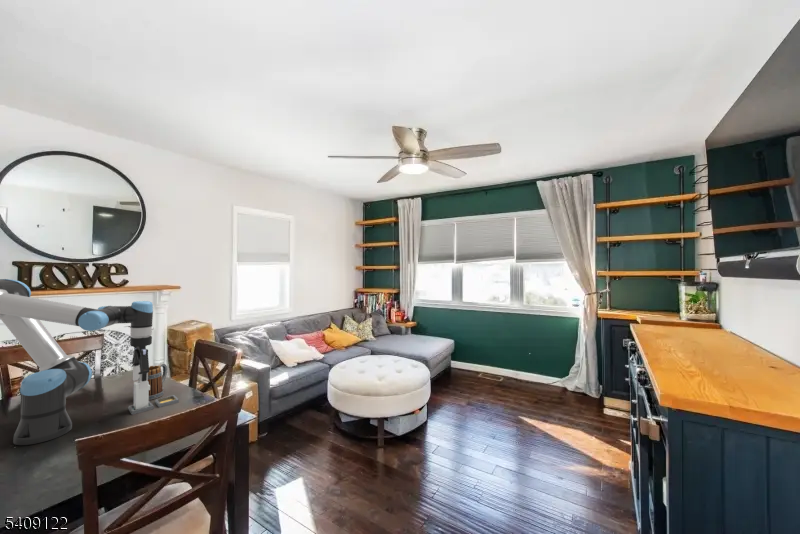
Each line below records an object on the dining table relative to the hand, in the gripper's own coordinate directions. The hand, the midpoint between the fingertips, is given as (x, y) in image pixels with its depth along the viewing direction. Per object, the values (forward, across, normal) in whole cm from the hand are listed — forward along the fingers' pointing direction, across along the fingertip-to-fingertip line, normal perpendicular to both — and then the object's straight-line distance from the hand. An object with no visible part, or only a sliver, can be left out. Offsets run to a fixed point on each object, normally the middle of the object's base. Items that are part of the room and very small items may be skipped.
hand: (139, 384), depth 145 cm
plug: (+11, 0, -1) cm, 11 cm away
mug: (+12, +15, -9) cm, 21 cm away
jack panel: (+12, 0, -6) cm, 13 cm away
